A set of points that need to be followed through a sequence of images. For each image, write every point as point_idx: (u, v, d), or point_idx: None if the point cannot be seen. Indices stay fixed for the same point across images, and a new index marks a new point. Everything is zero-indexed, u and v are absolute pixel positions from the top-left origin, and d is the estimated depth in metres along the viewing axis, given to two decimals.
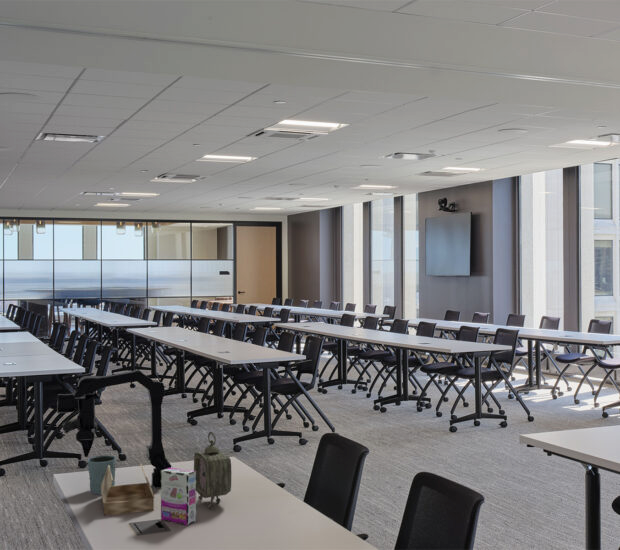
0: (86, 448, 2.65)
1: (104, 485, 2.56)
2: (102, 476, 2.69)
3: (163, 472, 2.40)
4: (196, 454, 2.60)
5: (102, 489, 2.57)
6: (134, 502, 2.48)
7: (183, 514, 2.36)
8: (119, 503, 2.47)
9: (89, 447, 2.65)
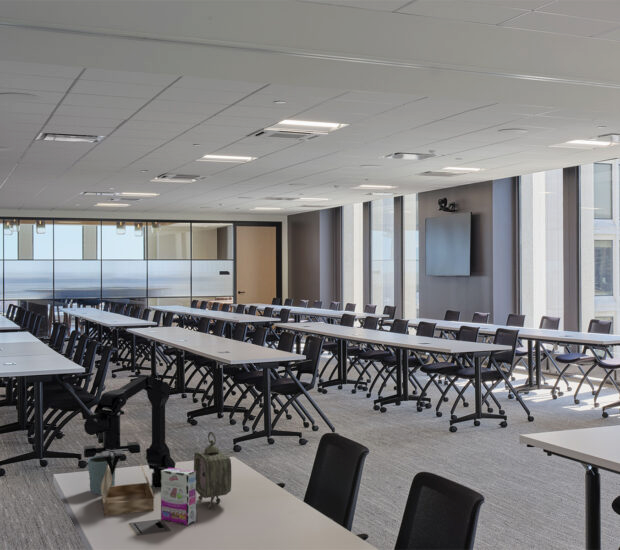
0: None
1: (104, 485, 2.56)
2: (102, 476, 2.69)
3: (163, 472, 2.40)
4: (196, 454, 2.60)
5: (102, 489, 2.57)
6: (134, 502, 2.48)
7: (183, 514, 2.36)
8: (119, 503, 2.47)
9: None
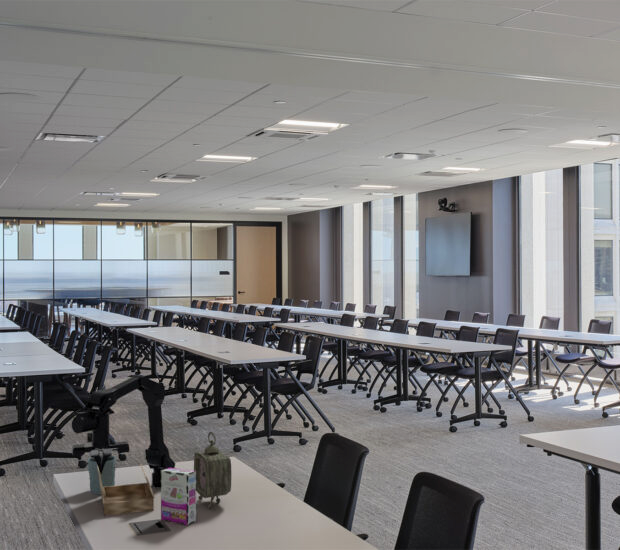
0: None
1: None
2: (102, 476, 2.69)
3: (163, 472, 2.40)
4: (196, 454, 2.60)
5: None
6: (134, 502, 2.48)
7: (183, 514, 2.36)
8: (119, 503, 2.47)
9: (97, 464, 2.53)
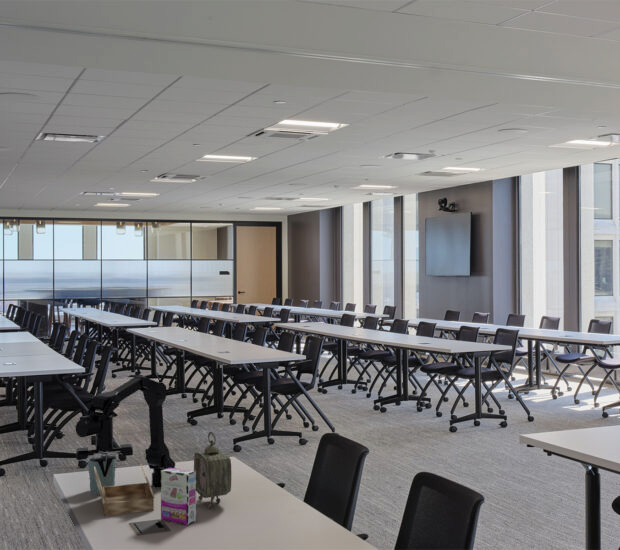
0: None
1: None
2: (102, 476, 2.69)
3: (163, 472, 2.40)
4: (196, 454, 2.60)
5: None
6: (134, 502, 2.48)
7: (183, 514, 2.36)
8: (119, 503, 2.47)
9: (100, 467, 2.53)
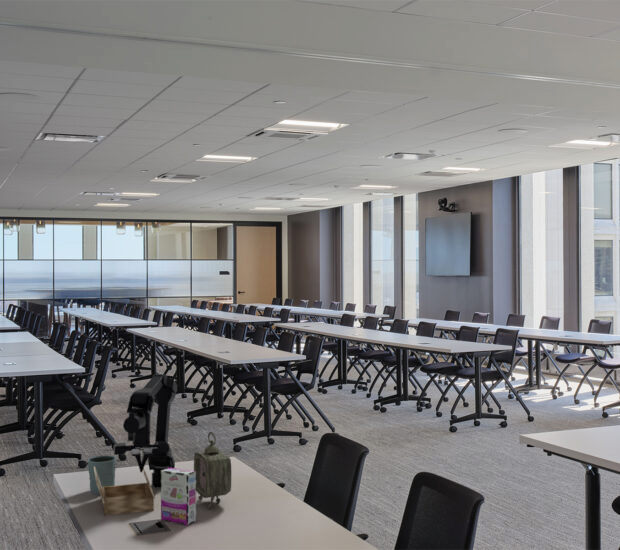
0: None
1: None
2: (102, 476, 2.69)
3: (163, 472, 2.40)
4: (196, 454, 2.60)
5: None
6: (134, 502, 2.48)
7: (183, 514, 2.36)
8: (119, 503, 2.47)
9: None
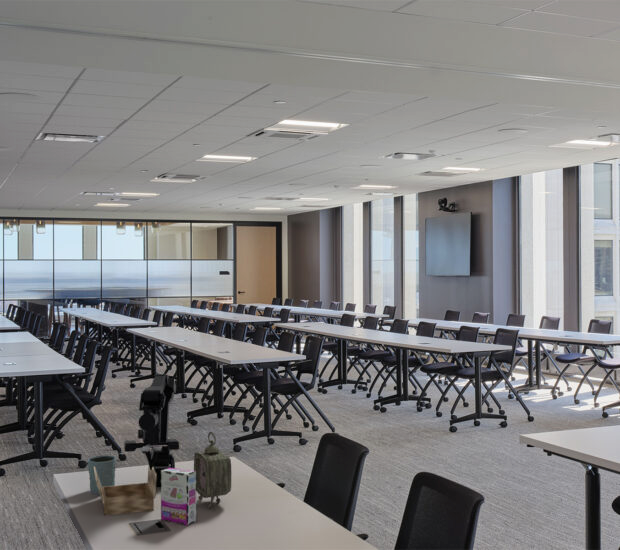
0: None
1: None
2: (102, 476, 2.69)
3: (163, 472, 2.40)
4: (196, 454, 2.60)
5: None
6: (134, 502, 2.48)
7: (183, 514, 2.36)
8: (119, 503, 2.47)
9: None
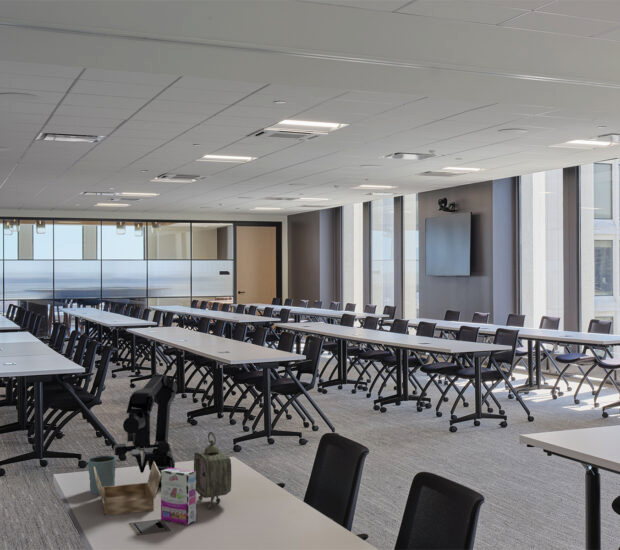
0: (138, 463, 2.58)
1: None
2: (102, 476, 2.69)
3: (163, 472, 2.40)
4: (196, 454, 2.60)
5: None
6: (134, 502, 2.48)
7: (183, 514, 2.36)
8: (119, 503, 2.47)
9: (138, 463, 2.57)
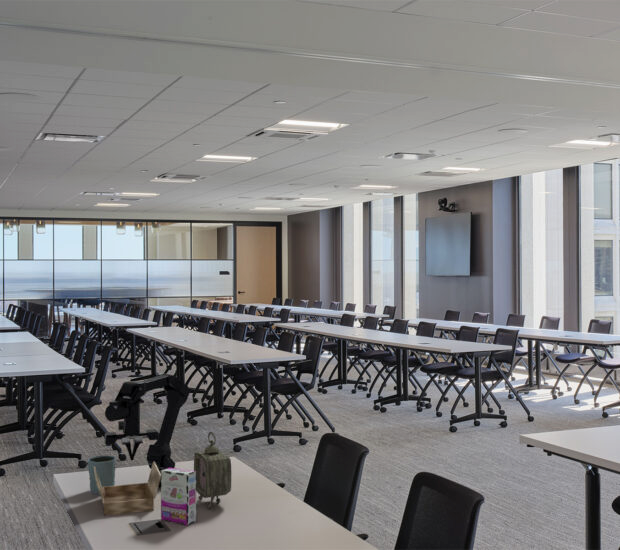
0: (128, 451, 2.66)
1: None
2: (102, 476, 2.69)
3: (163, 472, 2.40)
4: (196, 454, 2.60)
5: None
6: (134, 502, 2.48)
7: (183, 514, 2.36)
8: (119, 503, 2.47)
9: (128, 451, 2.65)
